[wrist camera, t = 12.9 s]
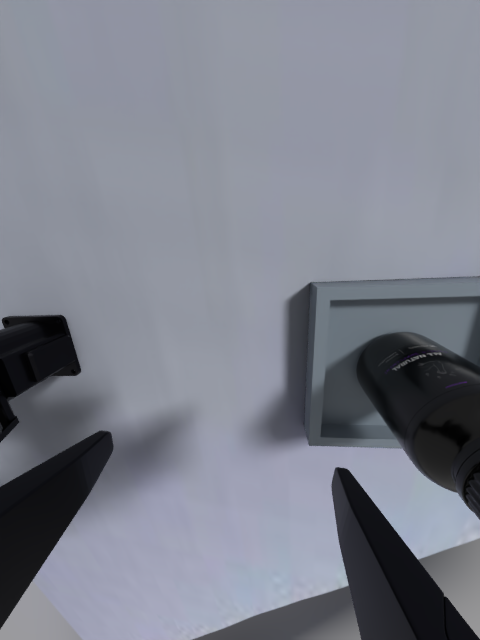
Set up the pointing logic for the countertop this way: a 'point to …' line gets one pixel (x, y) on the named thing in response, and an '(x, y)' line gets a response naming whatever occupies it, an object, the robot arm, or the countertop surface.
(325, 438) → the tray
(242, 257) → the countertop surface
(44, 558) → the robot arm
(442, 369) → the supplement bottle
